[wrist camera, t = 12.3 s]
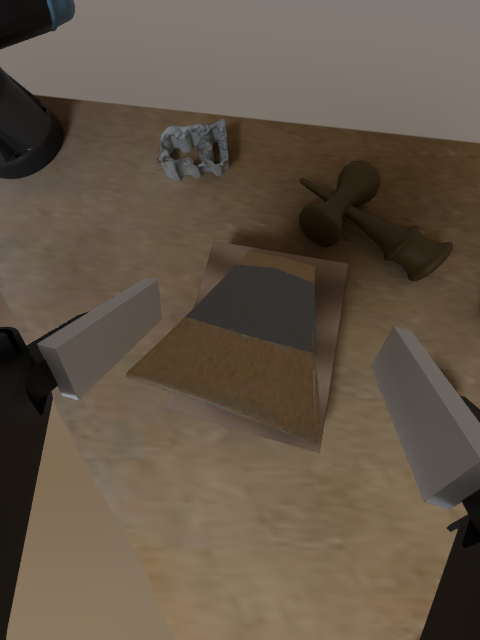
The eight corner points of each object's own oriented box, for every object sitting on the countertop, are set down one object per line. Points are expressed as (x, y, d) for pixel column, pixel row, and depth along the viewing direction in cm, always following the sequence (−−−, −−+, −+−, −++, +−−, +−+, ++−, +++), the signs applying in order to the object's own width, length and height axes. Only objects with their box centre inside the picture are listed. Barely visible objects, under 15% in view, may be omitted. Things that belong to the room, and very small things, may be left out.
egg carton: (164, 185, 36) (152, 161, 32) (167, 148, 38) (156, 121, 34) (230, 179, 35) (226, 154, 31) (230, 141, 37) (226, 113, 33)
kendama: (396, 303, 29) (274, 218, 32) (436, 251, 30) (315, 175, 34) (433, 286, 23) (279, 184, 27) (481, 222, 24) (328, 134, 28)
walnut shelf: (219, 258, 32) (213, 240, 27) (336, 278, 29) (348, 263, 25) (178, 403, 27) (164, 408, 23) (310, 440, 25) (319, 453, 21)
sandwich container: (318, 265, 26) (394, 123, 11) (284, 400, 23) (327, 450, 8) (246, 249, 27) (229, 103, 12) (205, 374, 24) (118, 377, 9)
